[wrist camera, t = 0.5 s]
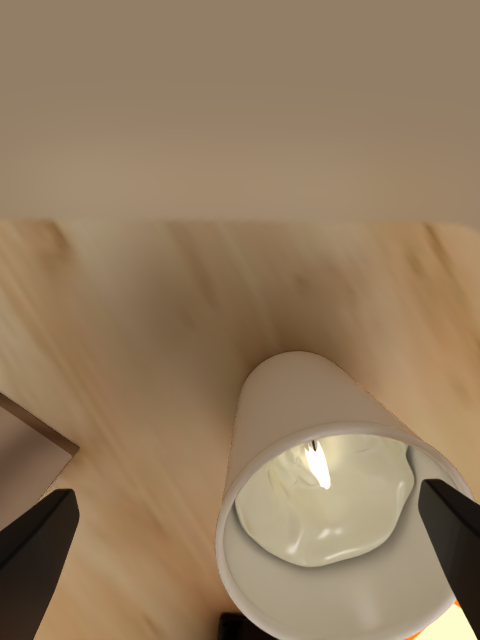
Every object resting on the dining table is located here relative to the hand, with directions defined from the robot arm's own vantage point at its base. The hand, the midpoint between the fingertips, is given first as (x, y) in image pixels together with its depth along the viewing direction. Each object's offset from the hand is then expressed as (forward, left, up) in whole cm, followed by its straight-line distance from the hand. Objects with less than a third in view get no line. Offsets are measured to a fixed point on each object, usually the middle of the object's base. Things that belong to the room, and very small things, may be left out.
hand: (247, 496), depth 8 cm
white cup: (-4, -4, -15) cm, 16 cm away
